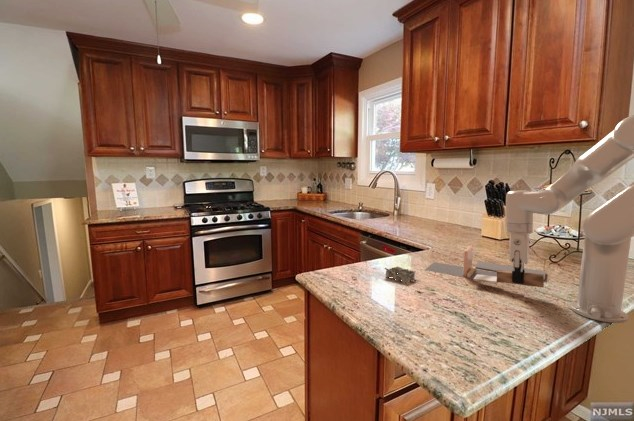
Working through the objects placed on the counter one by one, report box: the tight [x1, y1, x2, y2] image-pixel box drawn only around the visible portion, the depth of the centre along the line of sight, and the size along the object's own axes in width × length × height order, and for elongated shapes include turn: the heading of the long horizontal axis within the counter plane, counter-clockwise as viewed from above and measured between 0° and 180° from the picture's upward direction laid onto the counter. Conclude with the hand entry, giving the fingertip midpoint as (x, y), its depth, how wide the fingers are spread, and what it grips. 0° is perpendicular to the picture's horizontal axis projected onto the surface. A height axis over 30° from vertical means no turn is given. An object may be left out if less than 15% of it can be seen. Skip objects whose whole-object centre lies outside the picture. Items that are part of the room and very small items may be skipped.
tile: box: [462, 245, 474, 276], centre depth 123 cm, size 10×1×10 cm, turn 142°
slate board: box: [473, 260, 546, 282], centre depth 126 cm, size 10×24×1 cm, turn 52°
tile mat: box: [424, 261, 497, 284], centre depth 125 cm, size 13×26×2 cm, turn 52°
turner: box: [473, 270, 545, 288], centre depth 106 cm, size 20×6×4 cm, turn 52°
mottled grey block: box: [384, 266, 417, 283], centre depth 120 cm, size 11×8×4 cm
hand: (518, 281), depth 104 cm, fingers closed on turner, 2 cm apart
